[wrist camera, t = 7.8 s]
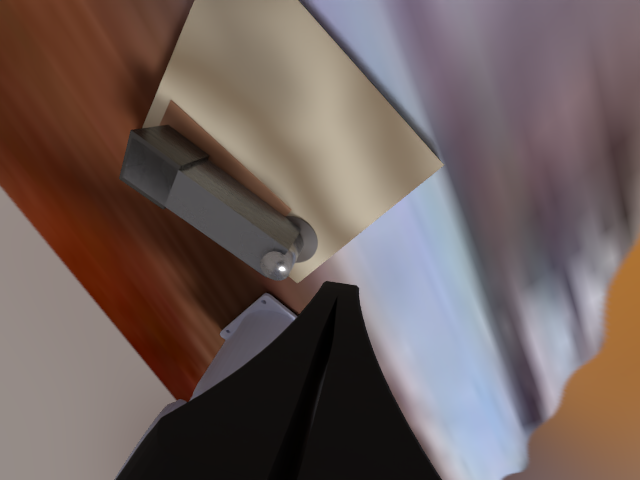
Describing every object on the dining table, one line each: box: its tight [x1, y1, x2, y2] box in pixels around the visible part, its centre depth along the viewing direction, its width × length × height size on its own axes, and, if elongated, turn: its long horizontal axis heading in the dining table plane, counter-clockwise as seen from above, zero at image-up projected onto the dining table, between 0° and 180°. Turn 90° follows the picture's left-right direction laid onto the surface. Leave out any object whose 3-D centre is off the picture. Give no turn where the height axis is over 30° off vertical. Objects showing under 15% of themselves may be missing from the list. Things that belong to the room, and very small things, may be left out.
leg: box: [119, 125, 304, 280], centre depth 18 cm, size 12×4×3 cm, turn 54°
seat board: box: [142, 0, 444, 283], centre depth 18 cm, size 14×16×1 cm
